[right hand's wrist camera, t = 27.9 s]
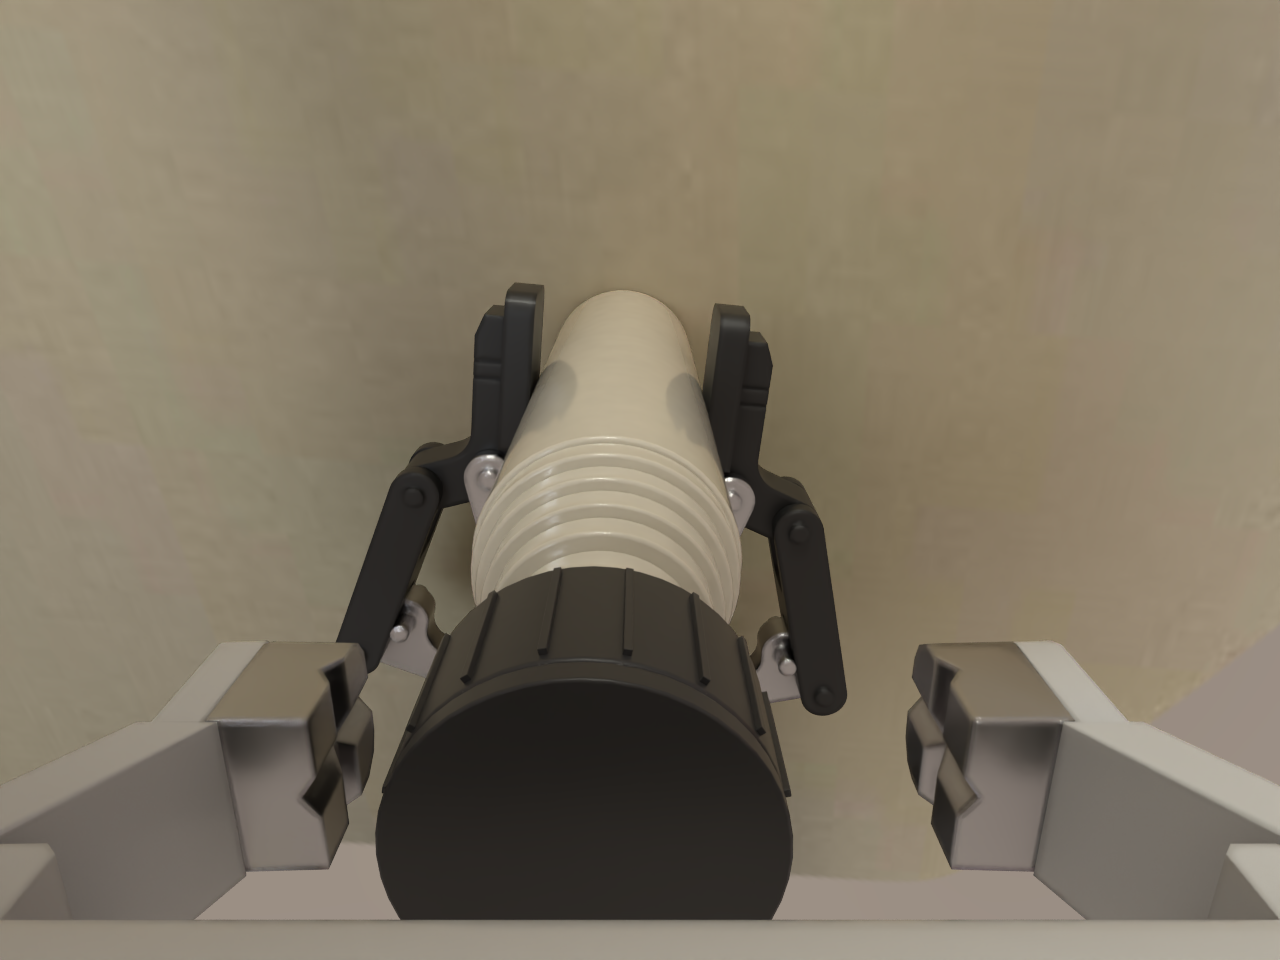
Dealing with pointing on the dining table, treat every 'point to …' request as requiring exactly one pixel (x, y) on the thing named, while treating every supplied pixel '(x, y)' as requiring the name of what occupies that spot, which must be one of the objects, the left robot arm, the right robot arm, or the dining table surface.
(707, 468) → the bottle
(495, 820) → the cap
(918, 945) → the right robot arm
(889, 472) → the dining table surface
